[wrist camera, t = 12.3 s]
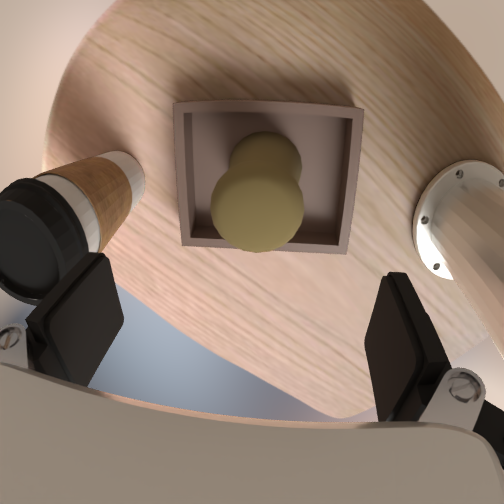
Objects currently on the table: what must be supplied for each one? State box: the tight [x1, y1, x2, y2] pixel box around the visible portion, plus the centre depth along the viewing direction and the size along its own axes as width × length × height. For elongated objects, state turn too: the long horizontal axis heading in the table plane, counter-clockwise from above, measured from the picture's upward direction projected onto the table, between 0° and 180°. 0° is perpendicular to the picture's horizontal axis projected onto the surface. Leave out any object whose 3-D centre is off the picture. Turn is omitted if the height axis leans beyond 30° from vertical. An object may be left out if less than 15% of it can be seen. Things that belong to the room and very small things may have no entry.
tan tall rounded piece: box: [210, 131, 305, 253], centre depth 21 cm, size 6×6×11 cm
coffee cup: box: [0, 151, 145, 306], centre depth 22 cm, size 8×8×15 cm
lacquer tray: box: [173, 100, 364, 255], centre depth 25 cm, size 14×12×3 cm
